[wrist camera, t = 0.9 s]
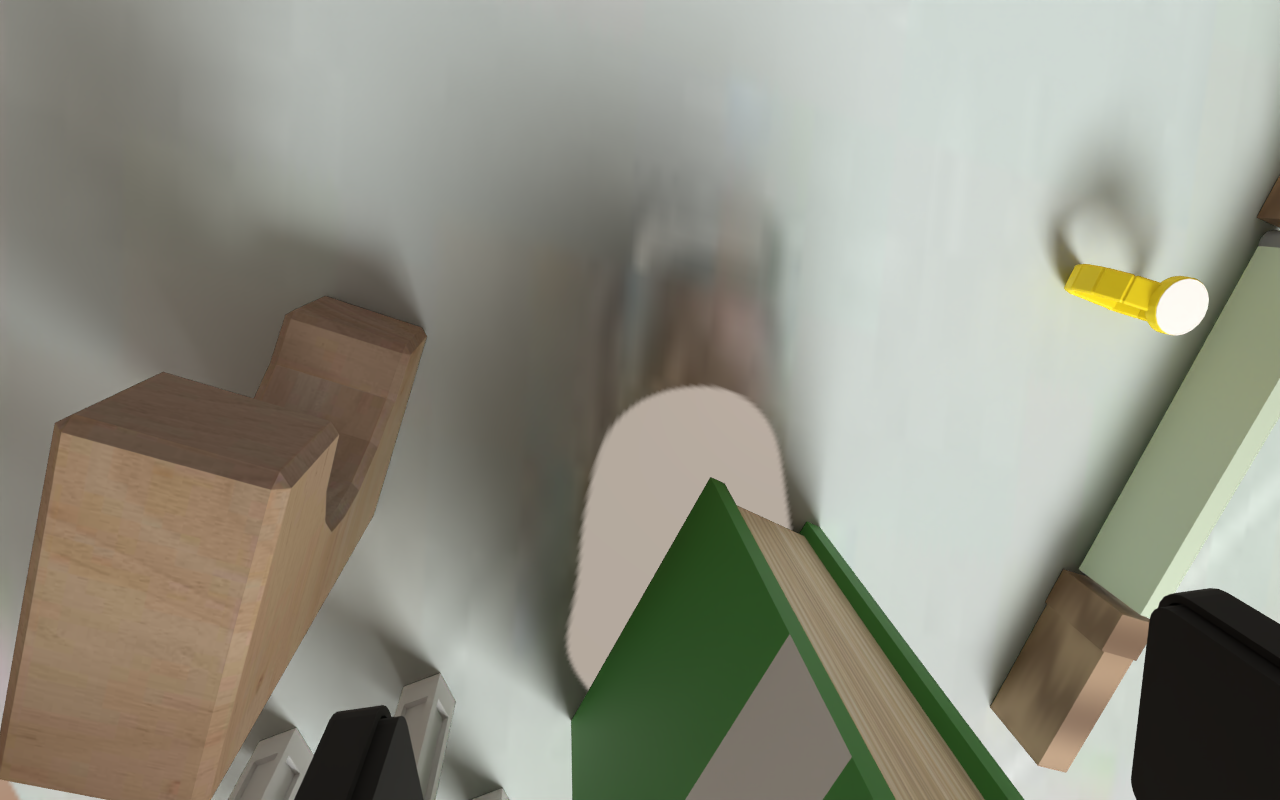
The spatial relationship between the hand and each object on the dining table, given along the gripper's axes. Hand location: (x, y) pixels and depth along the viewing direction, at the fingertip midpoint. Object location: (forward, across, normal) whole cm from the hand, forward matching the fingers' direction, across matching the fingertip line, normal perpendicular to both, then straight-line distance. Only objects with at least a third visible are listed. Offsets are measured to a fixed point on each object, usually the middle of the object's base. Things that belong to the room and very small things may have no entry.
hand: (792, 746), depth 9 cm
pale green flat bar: (+30, -32, +9) cm, 45 cm away
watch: (+31, -26, +1) cm, 40 cm away
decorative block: (+31, +14, +3) cm, 34 cm away
